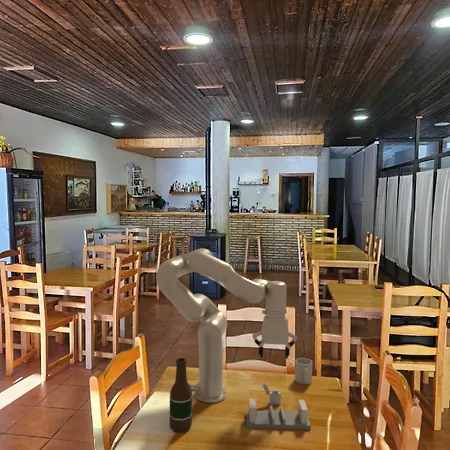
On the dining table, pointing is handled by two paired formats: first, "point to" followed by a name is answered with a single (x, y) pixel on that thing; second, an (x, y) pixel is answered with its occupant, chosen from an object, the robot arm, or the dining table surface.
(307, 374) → the cup
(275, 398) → the lighter
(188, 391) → the beer bottle
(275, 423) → the grey holder rack
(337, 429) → the dining table surface
